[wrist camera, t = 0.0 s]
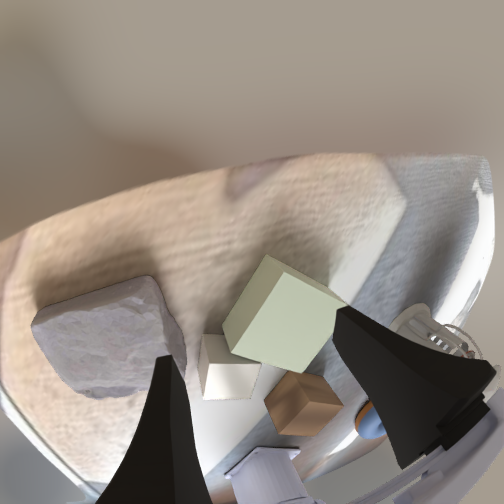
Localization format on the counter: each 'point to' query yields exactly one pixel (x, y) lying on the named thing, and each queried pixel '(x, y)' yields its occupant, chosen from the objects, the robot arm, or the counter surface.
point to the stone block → (110, 338)
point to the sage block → (281, 317)
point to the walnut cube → (302, 404)
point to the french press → (424, 327)
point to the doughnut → (369, 423)
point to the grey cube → (225, 370)
